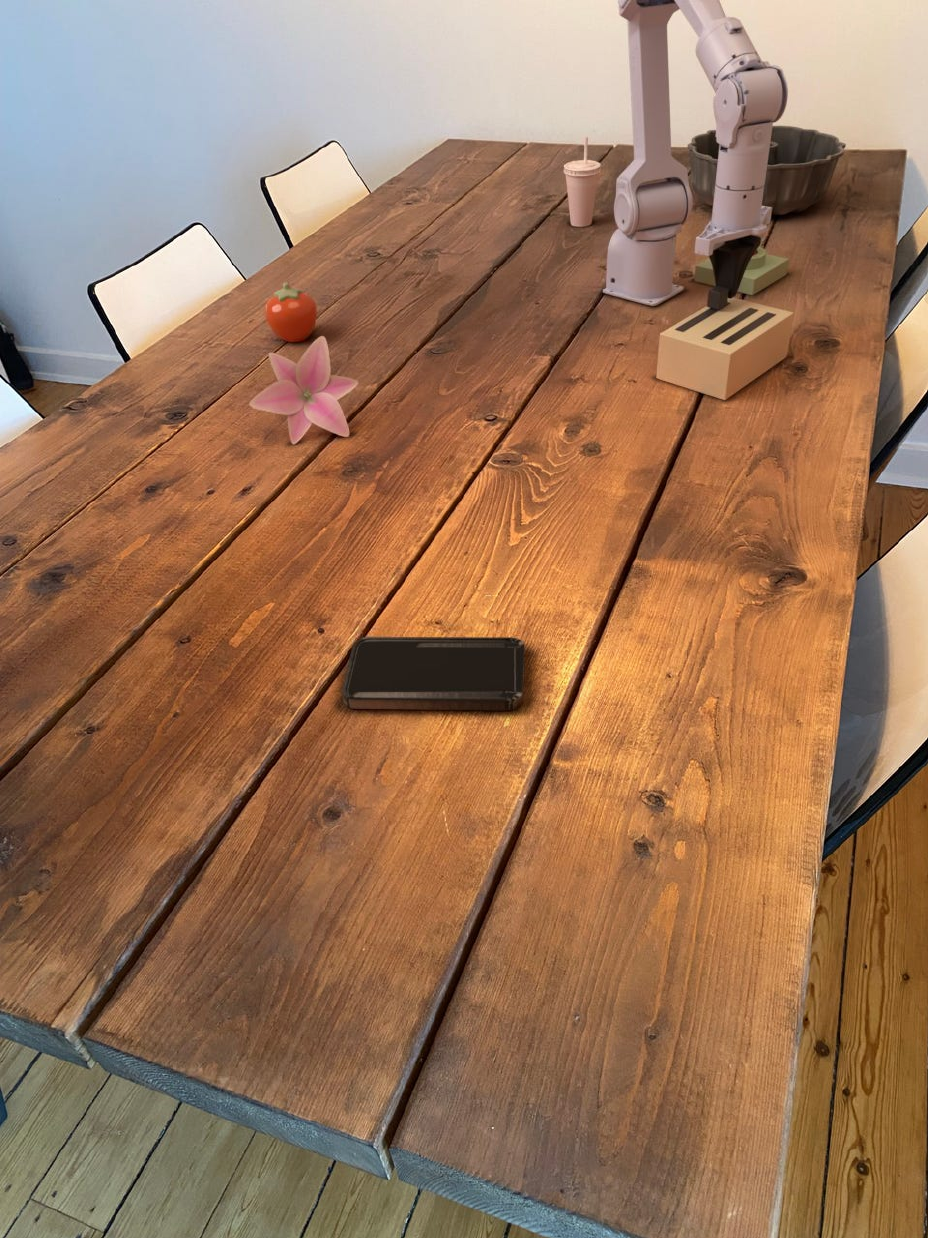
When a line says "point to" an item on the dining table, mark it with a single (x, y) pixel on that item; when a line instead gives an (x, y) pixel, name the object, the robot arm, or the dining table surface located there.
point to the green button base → (749, 272)
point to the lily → (306, 392)
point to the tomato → (291, 314)
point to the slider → (717, 297)
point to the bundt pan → (776, 167)
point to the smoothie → (582, 188)
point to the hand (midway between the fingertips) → (726, 295)
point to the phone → (435, 673)
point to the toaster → (724, 347)
